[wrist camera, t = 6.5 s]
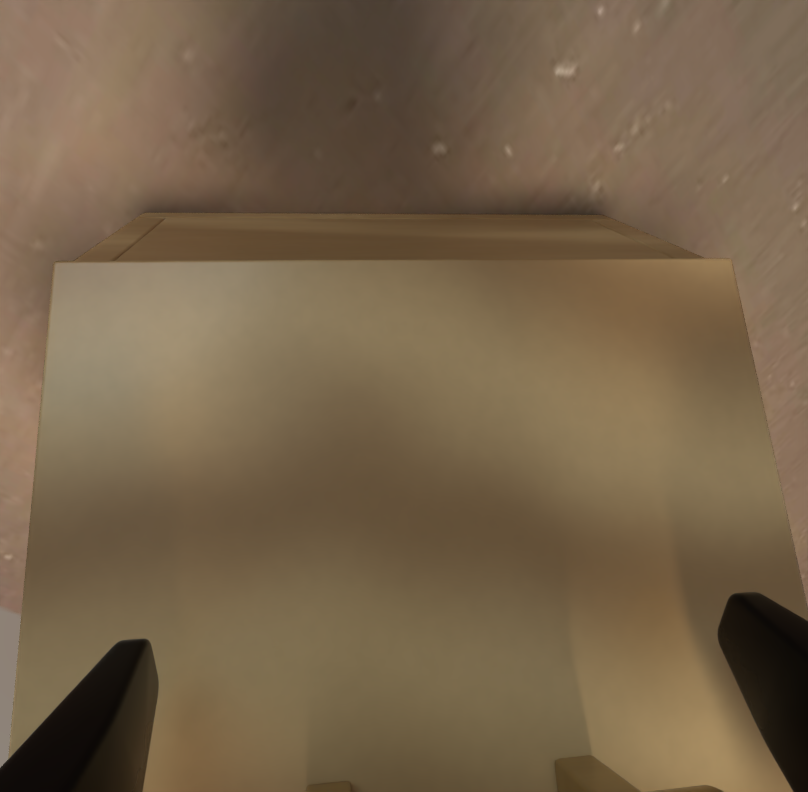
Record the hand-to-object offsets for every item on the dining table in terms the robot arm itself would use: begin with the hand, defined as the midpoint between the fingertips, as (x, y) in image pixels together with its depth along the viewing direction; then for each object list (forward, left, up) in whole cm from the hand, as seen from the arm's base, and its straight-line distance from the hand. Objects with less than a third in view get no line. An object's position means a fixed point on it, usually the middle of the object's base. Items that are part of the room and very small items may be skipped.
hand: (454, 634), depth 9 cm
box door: (0, 0, -2) cm, 2 cm away
